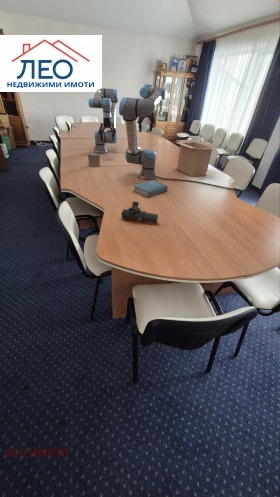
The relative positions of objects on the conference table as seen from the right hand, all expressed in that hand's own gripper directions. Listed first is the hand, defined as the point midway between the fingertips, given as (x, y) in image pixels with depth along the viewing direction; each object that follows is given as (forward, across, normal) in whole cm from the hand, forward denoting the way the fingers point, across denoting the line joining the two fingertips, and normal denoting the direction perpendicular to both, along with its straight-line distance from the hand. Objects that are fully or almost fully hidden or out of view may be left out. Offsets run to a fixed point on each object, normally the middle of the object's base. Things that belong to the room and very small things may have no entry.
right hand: (145, 131), depth 213 cm
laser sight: (+33, +78, +87) cm, 121 cm away
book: (+33, +40, +55) cm, 75 cm away
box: (+33, -32, +38) cm, 60 cm away
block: (+33, +43, -27) cm, 60 cm away
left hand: (+13, +22, -33) cm, 42 cm away
